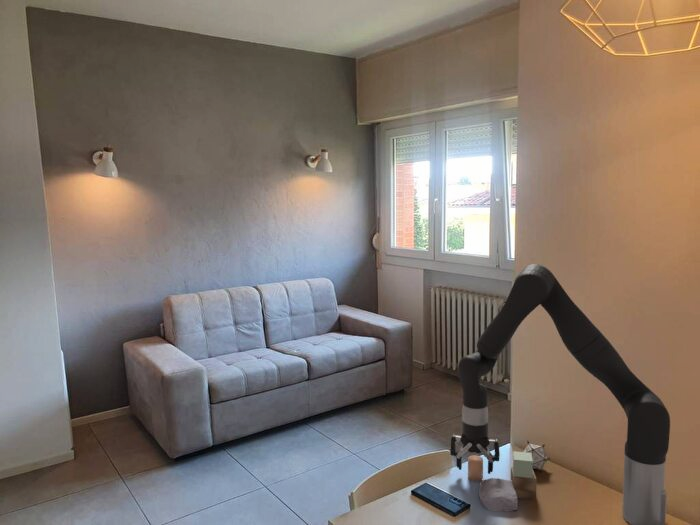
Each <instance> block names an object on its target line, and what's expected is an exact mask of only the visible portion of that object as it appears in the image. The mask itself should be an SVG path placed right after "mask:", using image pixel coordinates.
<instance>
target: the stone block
mask: <svg viewBox="0 0 700 525" xmlns="http://www.w3.org/2000/svg"><path fill="white" fill-rule="evenodd" d="M479 482H480V483H479V490H478V493H479V494H478V496H479V500H480V502H481V504H482V505H483V507H484V508H485V509H486V510H488V511H495V512H503V510H509V511H508V512H510V510H511V512H513V511H512V510H517V511H518V508H519V507H518V503H519V502H518V498H517V494H516V491H515V490H514V487H513V482H512V480H511V479H509V480H508V479H504V478H498V477H497V478H495V477H491V478H486V479H483V480H482V481H479ZM499 510H500V511H499Z"/></svg>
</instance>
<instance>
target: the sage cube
mask: <svg viewBox="0 0 700 525" xmlns="http://www.w3.org/2000/svg"><path fill="white" fill-rule="evenodd" d="M512 458H513V459H512V461H513V462H512V467H513V473H514V476H515V477H524V478H533V471H534V469H533V460H532V453H527V452H523V451H517V450H516V451H515V450H514V451H513V454H512Z"/></svg>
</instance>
